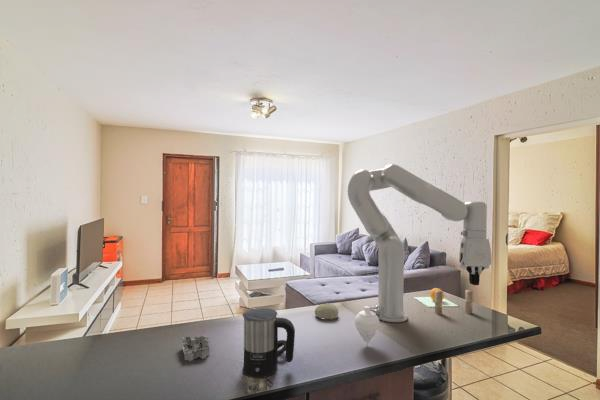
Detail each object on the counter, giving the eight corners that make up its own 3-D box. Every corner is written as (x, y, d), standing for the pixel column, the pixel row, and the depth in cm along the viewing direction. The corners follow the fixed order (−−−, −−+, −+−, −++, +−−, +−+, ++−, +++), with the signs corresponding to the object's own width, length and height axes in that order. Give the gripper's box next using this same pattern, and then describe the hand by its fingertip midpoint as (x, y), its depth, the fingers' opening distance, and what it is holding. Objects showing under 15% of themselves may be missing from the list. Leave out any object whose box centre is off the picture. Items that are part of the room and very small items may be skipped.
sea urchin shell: (308, 310, 127) (321, 294, 130) (320, 322, 129) (333, 306, 132) (319, 317, 119) (333, 300, 121) (332, 330, 121) (345, 313, 124)
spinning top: (379, 341, 103) (380, 304, 103) (379, 352, 95) (379, 312, 96) (355, 338, 105) (356, 302, 105) (353, 349, 98) (353, 309, 98)
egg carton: (181, 347, 98) (182, 334, 98) (207, 343, 101) (207, 330, 101) (182, 363, 88) (182, 348, 88) (210, 359, 91) (211, 344, 91)
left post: (437, 314, 129) (437, 292, 129) (433, 312, 132) (434, 290, 132) (443, 314, 130) (443, 292, 130) (439, 312, 132) (440, 290, 132)
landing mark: (427, 307, 139) (427, 306, 139) (413, 297, 153) (413, 297, 153) (458, 306, 140) (458, 306, 140) (441, 297, 154) (441, 296, 154)
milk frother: (243, 381, 79) (244, 321, 79) (238, 352, 95) (239, 301, 95) (298, 373, 83) (299, 316, 83) (285, 347, 98) (286, 298, 98)
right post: (467, 313, 131) (468, 291, 131) (463, 311, 133) (464, 290, 133) (473, 313, 131) (474, 291, 131) (469, 311, 133) (470, 289, 134)
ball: (426, 292, 151) (431, 304, 147) (429, 286, 147) (434, 297, 143) (438, 292, 151) (444, 303, 147) (442, 285, 147) (447, 296, 143)
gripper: (461, 235, 114) (461, 287, 114) (500, 236, 116) (500, 286, 116) (449, 233, 122) (449, 282, 122) (486, 233, 123) (486, 281, 123)
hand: (474, 284), depth 119 cm, fingers closed
